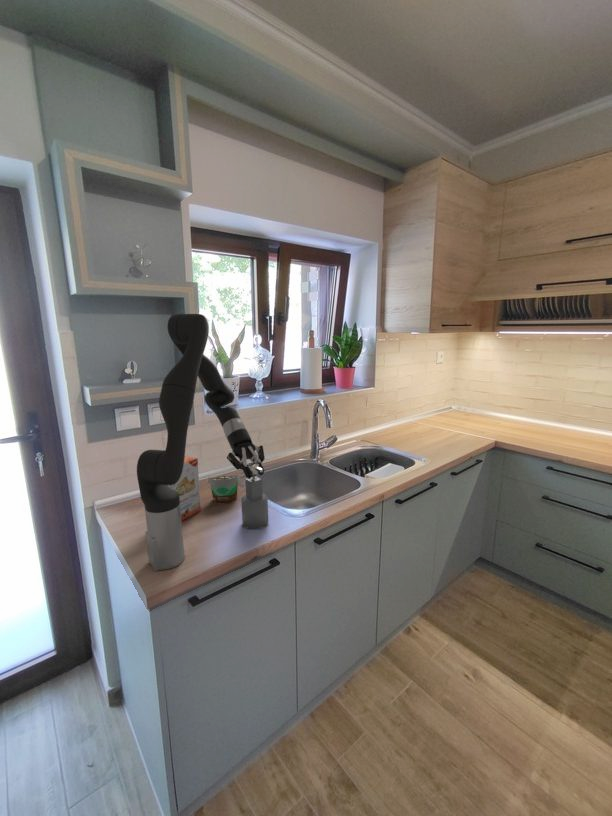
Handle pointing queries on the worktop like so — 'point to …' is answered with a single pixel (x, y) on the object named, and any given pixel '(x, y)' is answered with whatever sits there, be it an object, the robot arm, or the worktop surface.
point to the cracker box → (188, 488)
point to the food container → (224, 488)
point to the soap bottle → (254, 505)
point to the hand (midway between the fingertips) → (256, 475)
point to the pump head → (254, 469)
